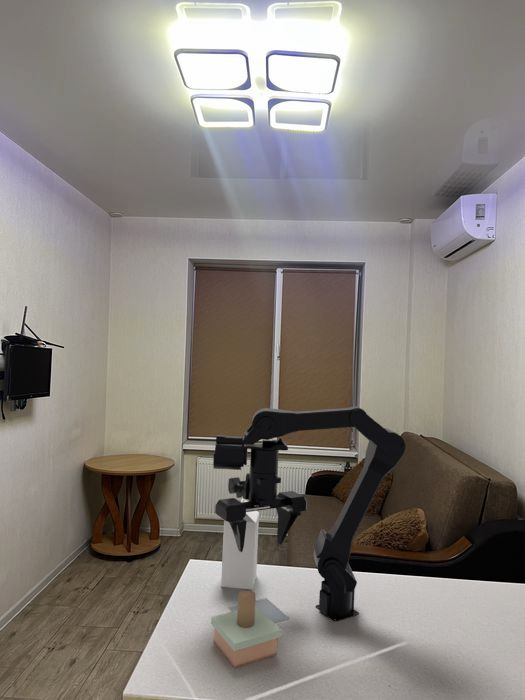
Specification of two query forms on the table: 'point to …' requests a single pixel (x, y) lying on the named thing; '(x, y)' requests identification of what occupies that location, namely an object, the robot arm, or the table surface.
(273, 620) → the mat
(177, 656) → the table surface
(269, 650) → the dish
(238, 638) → the lid
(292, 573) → the table surface
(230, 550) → the milk carton
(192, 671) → the table surface
